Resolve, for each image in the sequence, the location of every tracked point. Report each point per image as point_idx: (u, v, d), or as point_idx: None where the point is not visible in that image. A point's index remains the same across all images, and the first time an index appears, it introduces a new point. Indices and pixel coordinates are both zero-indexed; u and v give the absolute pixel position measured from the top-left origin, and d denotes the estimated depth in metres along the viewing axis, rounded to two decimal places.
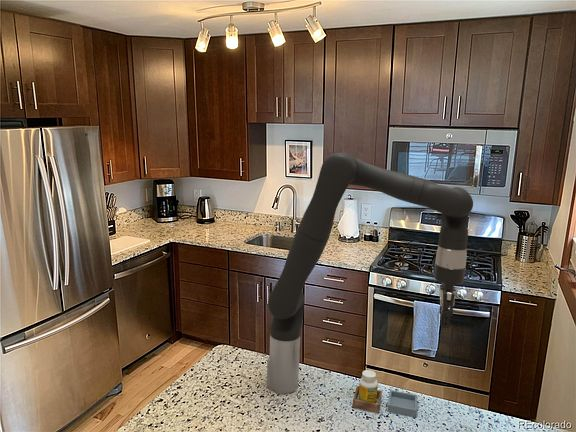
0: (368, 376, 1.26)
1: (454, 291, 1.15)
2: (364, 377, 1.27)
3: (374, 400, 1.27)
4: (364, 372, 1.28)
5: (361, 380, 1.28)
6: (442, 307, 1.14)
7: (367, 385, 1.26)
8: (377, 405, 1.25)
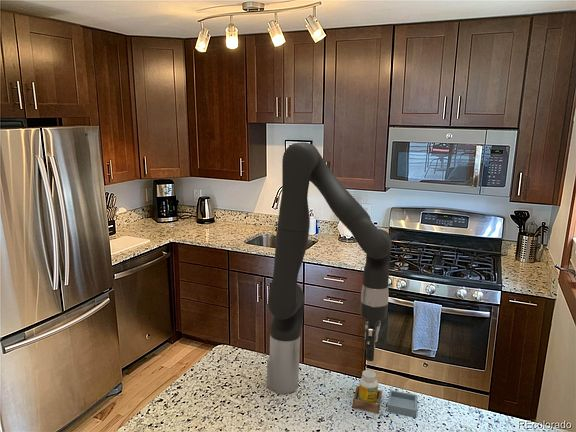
0: (368, 376, 1.26)
1: (378, 326, 1.23)
2: (364, 377, 1.27)
3: (374, 400, 1.27)
4: (364, 372, 1.28)
5: (361, 380, 1.28)
6: None
7: (367, 385, 1.26)
8: (377, 405, 1.25)
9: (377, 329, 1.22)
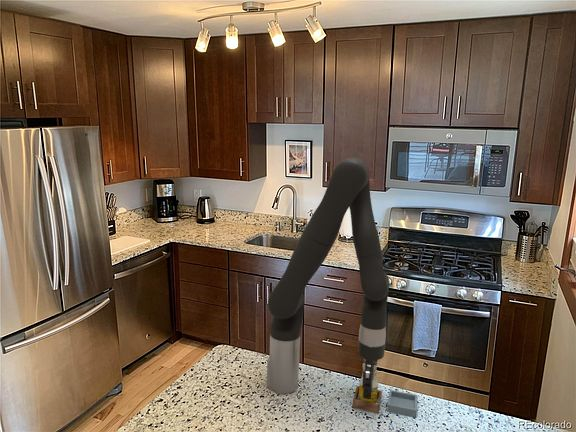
0: None
1: (375, 366, 1.25)
2: None
3: (374, 400, 1.27)
4: None
5: (361, 380, 1.28)
6: None
7: None
8: (377, 405, 1.25)
9: (374, 368, 1.25)
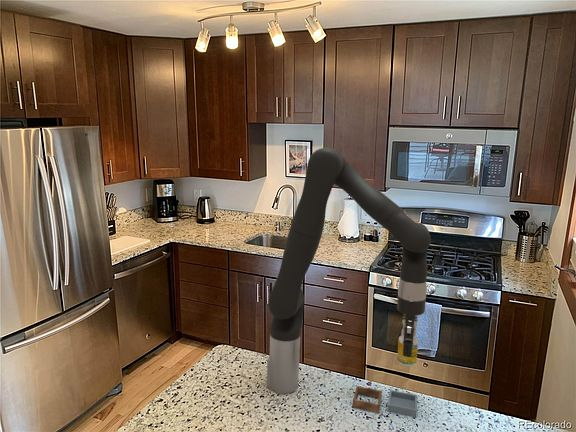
0: None
1: (415, 322, 1.21)
2: None
3: (414, 358, 1.23)
4: None
5: (400, 338, 1.24)
6: (404, 338, 1.21)
7: None
8: (377, 405, 1.25)
9: (415, 325, 1.21)
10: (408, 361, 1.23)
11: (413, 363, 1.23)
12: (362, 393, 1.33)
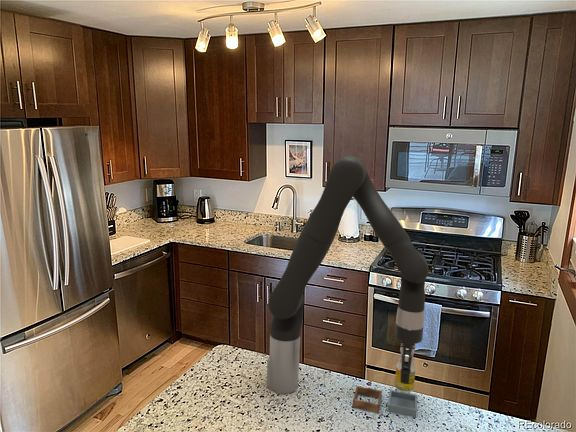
0: None
1: (413, 350, 1.22)
2: None
3: (411, 385, 1.25)
4: None
5: (398, 365, 1.26)
6: None
7: None
8: (377, 405, 1.25)
9: (412, 352, 1.22)
10: (406, 388, 1.24)
11: (410, 390, 1.25)
12: (362, 393, 1.33)
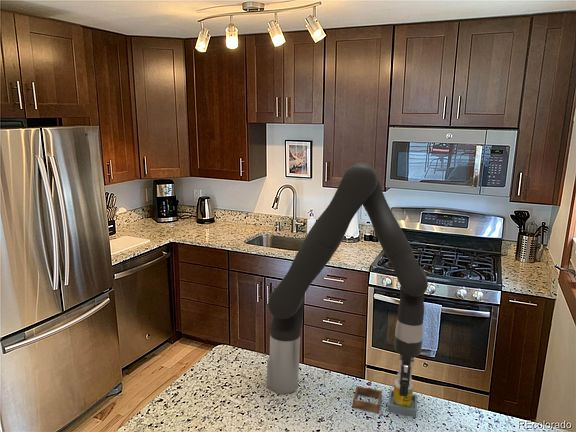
0: None
1: (412, 362, 1.23)
2: (399, 379, 1.25)
3: (409, 402, 1.26)
4: (399, 374, 1.27)
5: (396, 382, 1.26)
6: None
7: None
8: (377, 405, 1.25)
9: (411, 364, 1.23)
10: (404, 405, 1.25)
11: (408, 407, 1.26)
12: (362, 393, 1.33)
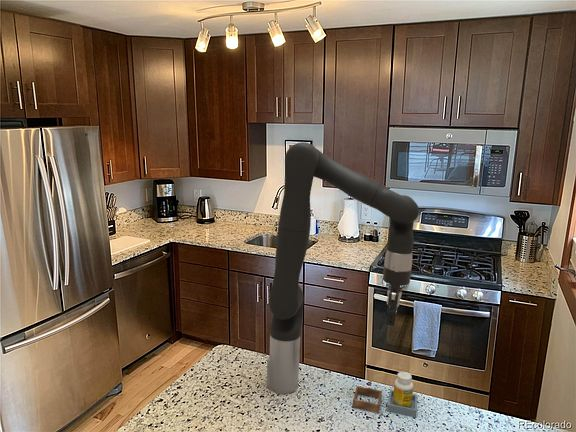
0: (404, 378, 1.25)
1: (400, 292, 1.24)
2: (400, 379, 1.25)
3: (409, 402, 1.26)
4: (399, 374, 1.27)
5: (396, 382, 1.26)
6: (388, 306, 1.23)
7: (403, 387, 1.24)
8: (377, 405, 1.25)
9: (399, 294, 1.23)
10: (404, 405, 1.25)
11: (408, 407, 1.26)
12: (362, 393, 1.33)
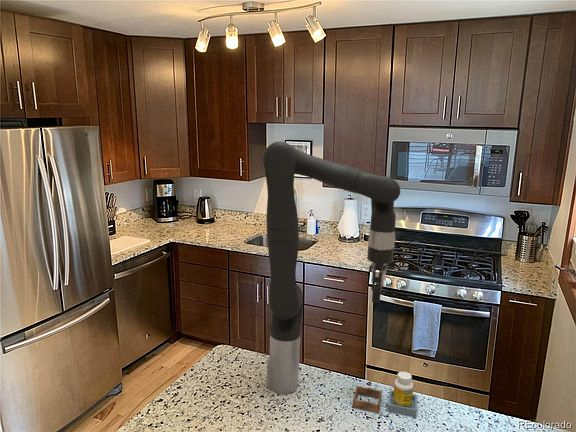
0: (404, 378, 1.25)
1: (384, 270, 1.27)
2: (400, 379, 1.25)
3: (409, 402, 1.26)
4: (399, 374, 1.27)
5: (396, 382, 1.26)
6: None
7: (403, 387, 1.24)
8: (377, 405, 1.25)
9: (383, 272, 1.27)
10: (404, 405, 1.25)
11: (408, 407, 1.26)
12: (362, 393, 1.33)
